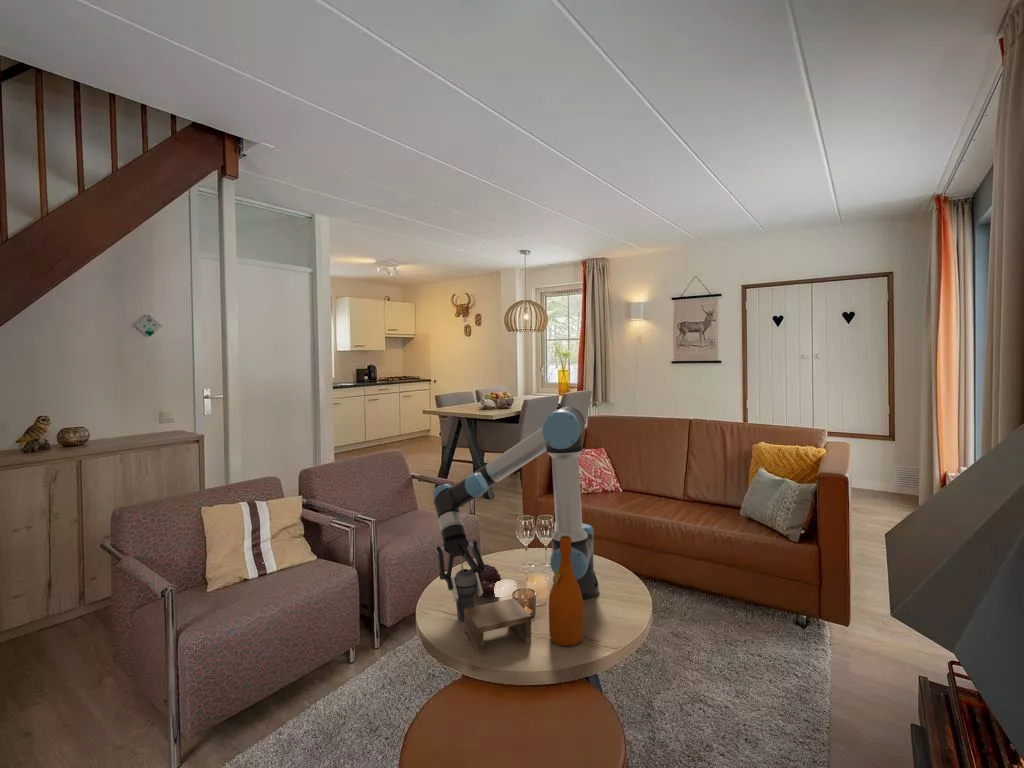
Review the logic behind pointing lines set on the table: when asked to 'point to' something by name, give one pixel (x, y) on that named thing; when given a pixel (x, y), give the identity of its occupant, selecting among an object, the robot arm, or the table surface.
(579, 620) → the wine bottle
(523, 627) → the walnut shelf
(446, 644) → the table surface
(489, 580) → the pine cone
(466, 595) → the beverage cup
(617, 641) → the table surface
